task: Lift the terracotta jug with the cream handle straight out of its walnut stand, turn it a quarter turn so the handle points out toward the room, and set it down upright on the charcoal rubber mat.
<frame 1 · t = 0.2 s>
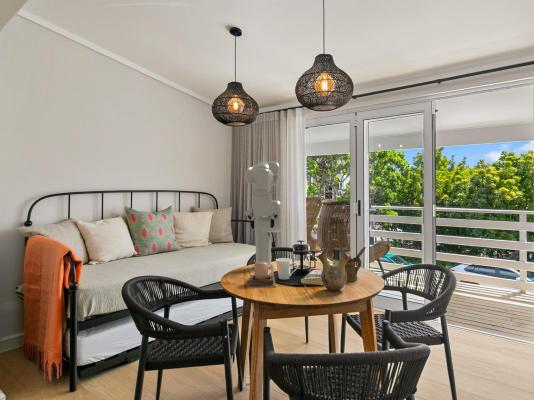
hand: (262, 228, 164), 30 cm above the table, tool pointing down, fingers open, 9 cm apart
coffee can: (341, 272, 195), on the table
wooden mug: (352, 280, 178), on the table
jug: (261, 282, 170), point 1 cm above the table, touching jug stand
jug stand: (261, 285, 170), on the table
ceramic vessel: (333, 290, 160), on the table
mat: (292, 284, 170), on the table
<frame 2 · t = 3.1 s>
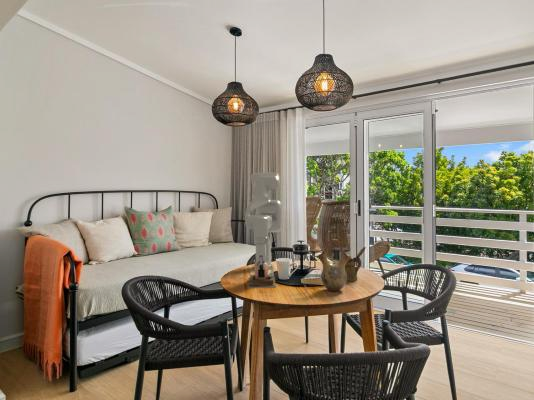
hand: (261, 275, 170), 5 cm above the table, tool pointing down, fingers closed on jug, 6 cm apart
jug: (261, 282, 170), point 2 cm above the table, touching gripper, jug stand
everything else where it was.
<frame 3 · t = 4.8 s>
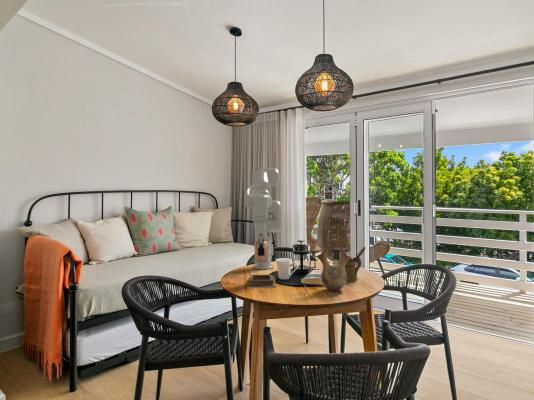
hand: (261, 253, 170), 16 cm above the table, tool pointing down, fingers closed on jug, 6 cm apart
jug: (261, 261, 170), point 12 cm above the table, touching gripper
everything else where it was.
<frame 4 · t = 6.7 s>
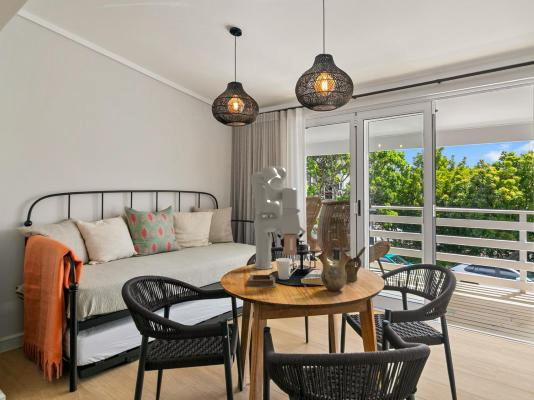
hand: (289, 246, 169), 20 cm above the table, tool pointing down, fingers closed on jug, 6 cm apart
jug: (289, 253, 170), point 16 cm above the table, touching gripper
everything else where it was.
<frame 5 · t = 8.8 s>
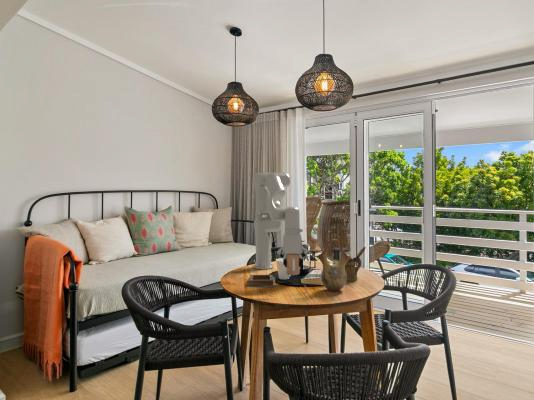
hand: (292, 266, 170), 10 cm above the table, tool pointing down, fingers closed on jug, 6 cm apart
jug: (292, 273, 170), point 6 cm above the table, touching gripper
everything else where it was.
when the fingers open (6 cm above the table, at t = 10.6 s): jug drops 1 cm, resting on mat.
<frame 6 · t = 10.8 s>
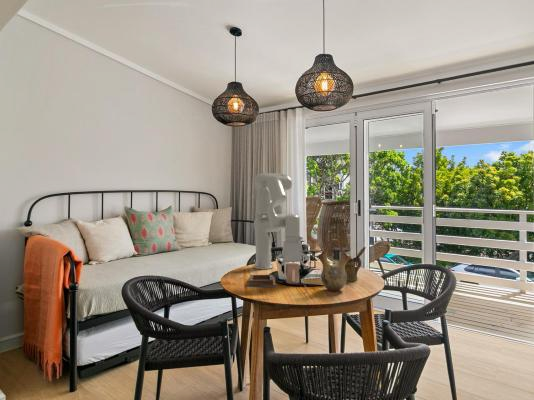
hand: (292, 272, 170), 6 cm above the table, tool pointing down, fingers open, 9 cm apart
jug: (292, 283, 170), resting on mat
everything else where it was.
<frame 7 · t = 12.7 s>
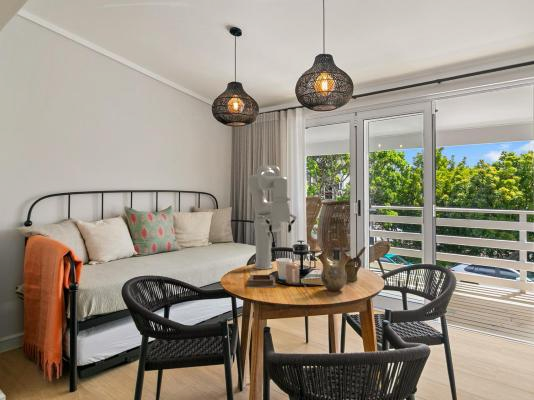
hand: (280, 232, 177), 26 cm above the table, tool pointing down, fingers open, 9 cm apart
nothing on the table moved.
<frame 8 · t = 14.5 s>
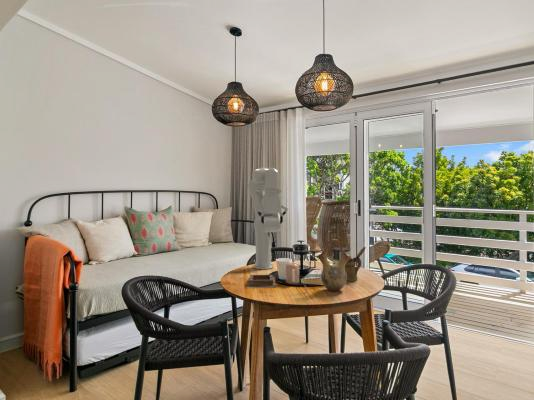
hand: (272, 223, 181), 30 cm above the table, tool pointing down, fingers open, 9 cm apart
nothing on the table moved.
at the end: jug inside the target area (0.2 cm from its centre), resting on mat; jug tilted 0°; the gripper is holding nothing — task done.
